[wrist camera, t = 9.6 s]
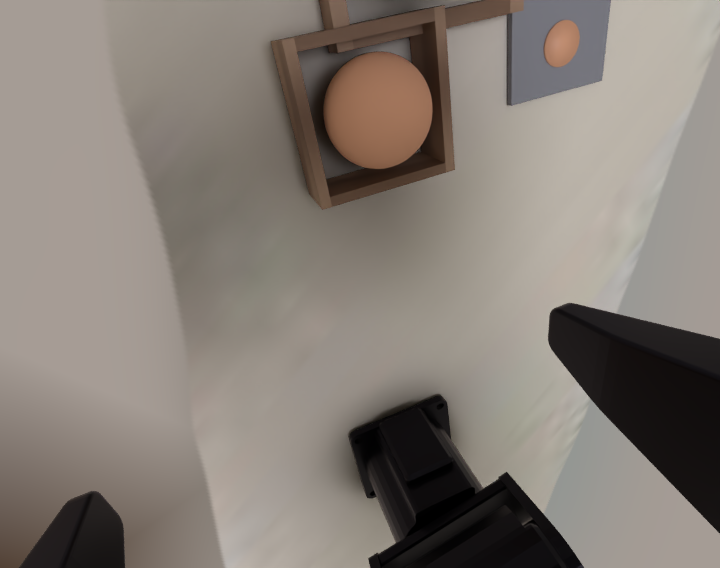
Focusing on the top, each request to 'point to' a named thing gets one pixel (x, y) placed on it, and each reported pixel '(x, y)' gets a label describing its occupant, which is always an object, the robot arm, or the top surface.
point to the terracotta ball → (377, 110)
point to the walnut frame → (429, 62)
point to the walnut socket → (491, 5)
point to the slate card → (555, 47)
